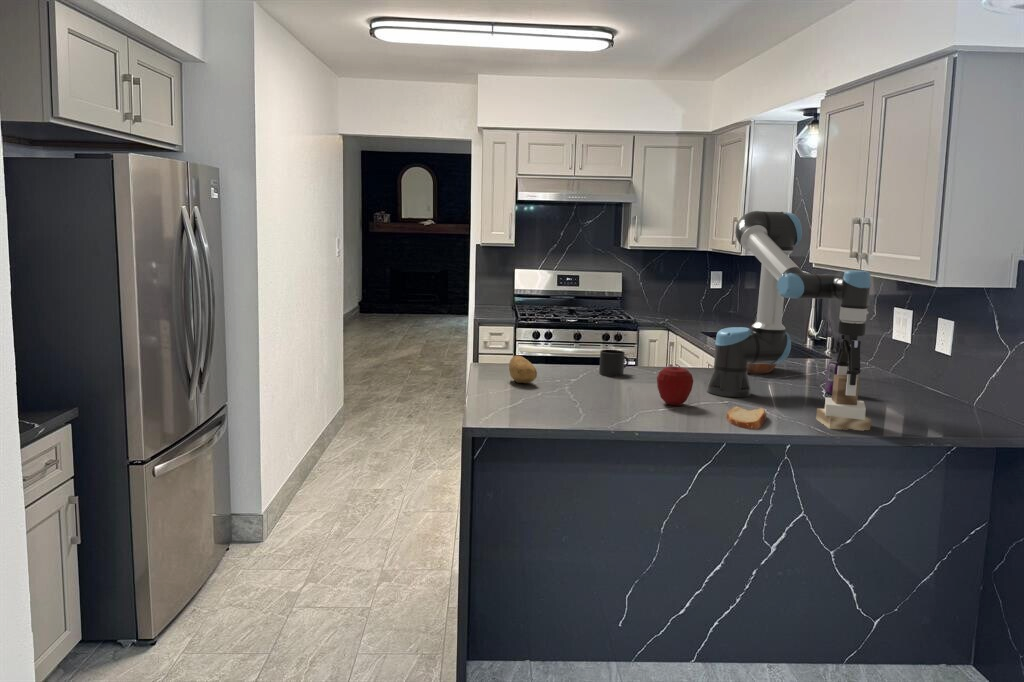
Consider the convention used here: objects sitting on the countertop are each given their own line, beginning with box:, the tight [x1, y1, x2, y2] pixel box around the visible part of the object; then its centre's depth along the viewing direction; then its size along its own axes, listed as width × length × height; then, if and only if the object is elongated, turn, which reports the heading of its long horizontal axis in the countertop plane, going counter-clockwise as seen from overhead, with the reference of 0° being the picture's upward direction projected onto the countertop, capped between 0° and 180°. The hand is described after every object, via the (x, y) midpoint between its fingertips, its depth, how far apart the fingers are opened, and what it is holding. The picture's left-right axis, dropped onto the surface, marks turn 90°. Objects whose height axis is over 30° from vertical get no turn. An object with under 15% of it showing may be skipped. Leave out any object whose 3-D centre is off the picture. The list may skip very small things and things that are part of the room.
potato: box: [508, 355, 538, 384], centre depth 290 cm, size 9×16×9 cm, turn 17°
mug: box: [598, 349, 629, 377], centre depth 314 cm, size 9×12×9 cm
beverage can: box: [824, 359, 849, 395], centre depth 292 cm, size 7×7×12 cm
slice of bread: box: [726, 405, 767, 430], centre depth 247 cm, size 18×18×4 cm
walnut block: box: [831, 374, 861, 405], centre depth 245 cm, size 6×6×8 cm
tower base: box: [815, 407, 872, 431], centre depth 246 cm, size 12×12×4 cm
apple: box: [656, 365, 694, 407], centre depth 264 cm, size 12×12×13 cm
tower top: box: [824, 397, 867, 420], centre depth 246 cm, size 11×11×4 cm
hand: (845, 391), depth 245 cm, fingers open, 12 cm apart
